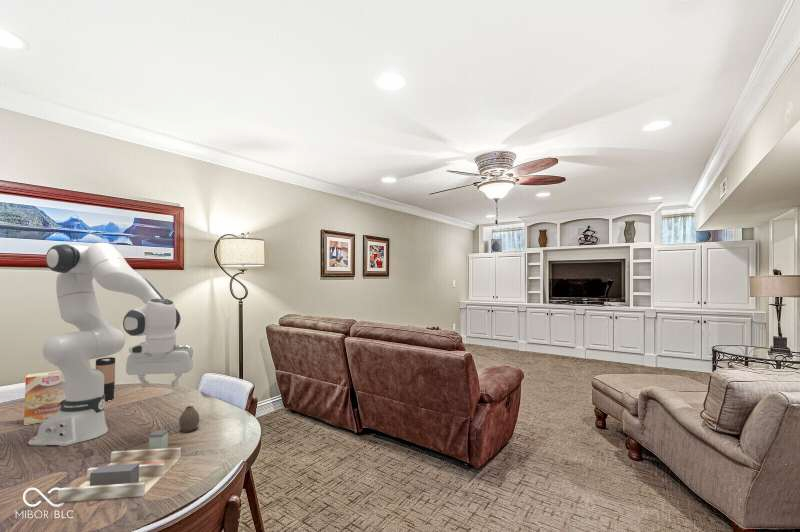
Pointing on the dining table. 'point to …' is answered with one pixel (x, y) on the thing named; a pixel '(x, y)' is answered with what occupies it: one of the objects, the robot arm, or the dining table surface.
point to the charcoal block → (115, 475)
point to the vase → (189, 419)
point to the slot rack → (150, 472)
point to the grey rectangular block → (158, 439)
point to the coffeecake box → (43, 396)
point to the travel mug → (107, 375)
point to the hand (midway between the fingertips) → (160, 386)
